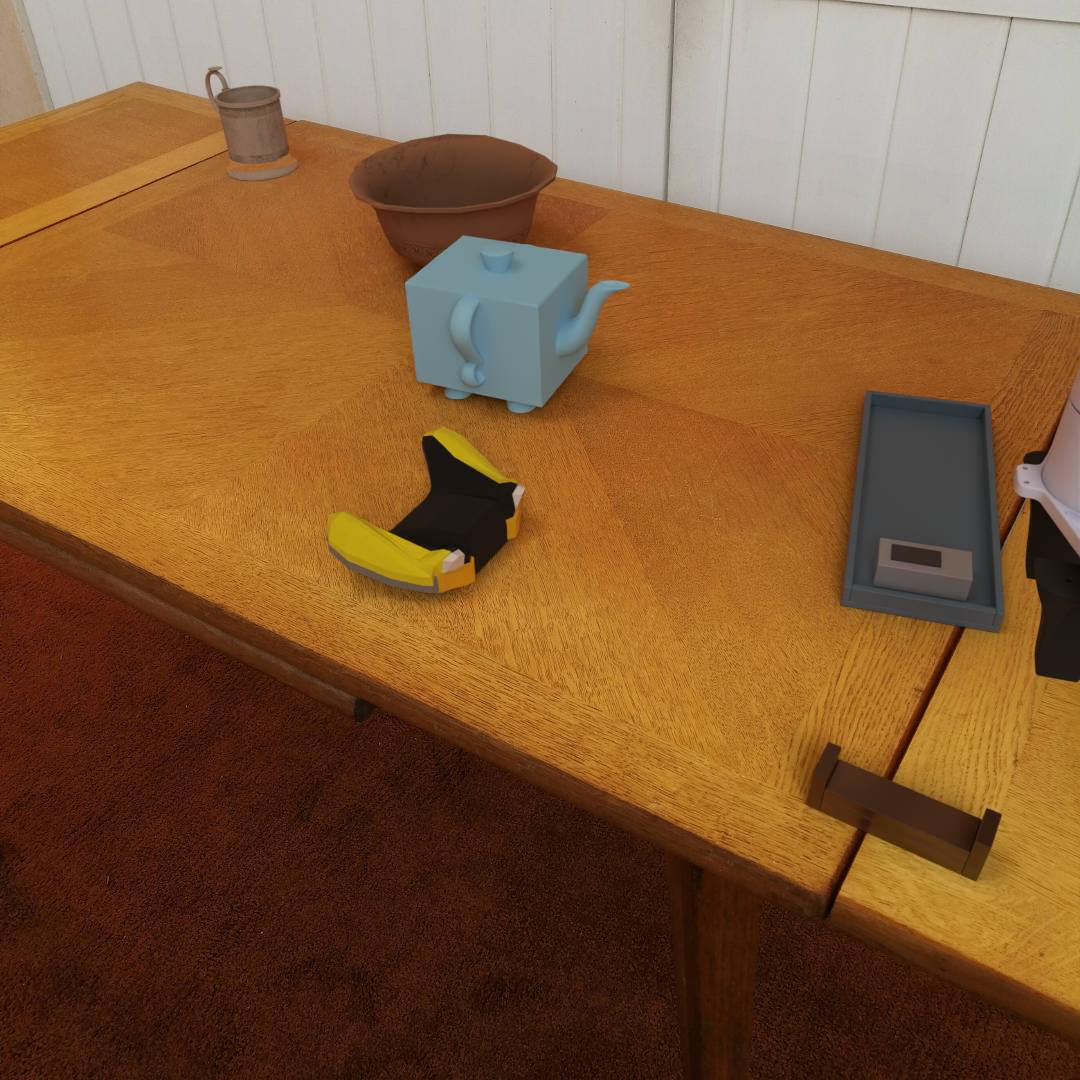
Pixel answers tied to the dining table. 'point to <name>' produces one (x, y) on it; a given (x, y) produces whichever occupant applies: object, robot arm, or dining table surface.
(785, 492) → the dining table surface
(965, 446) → the tray
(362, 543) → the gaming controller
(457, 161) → the bowl
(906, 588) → the grey block
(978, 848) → the brown drawer handle
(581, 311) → the teapot
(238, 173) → the mug
